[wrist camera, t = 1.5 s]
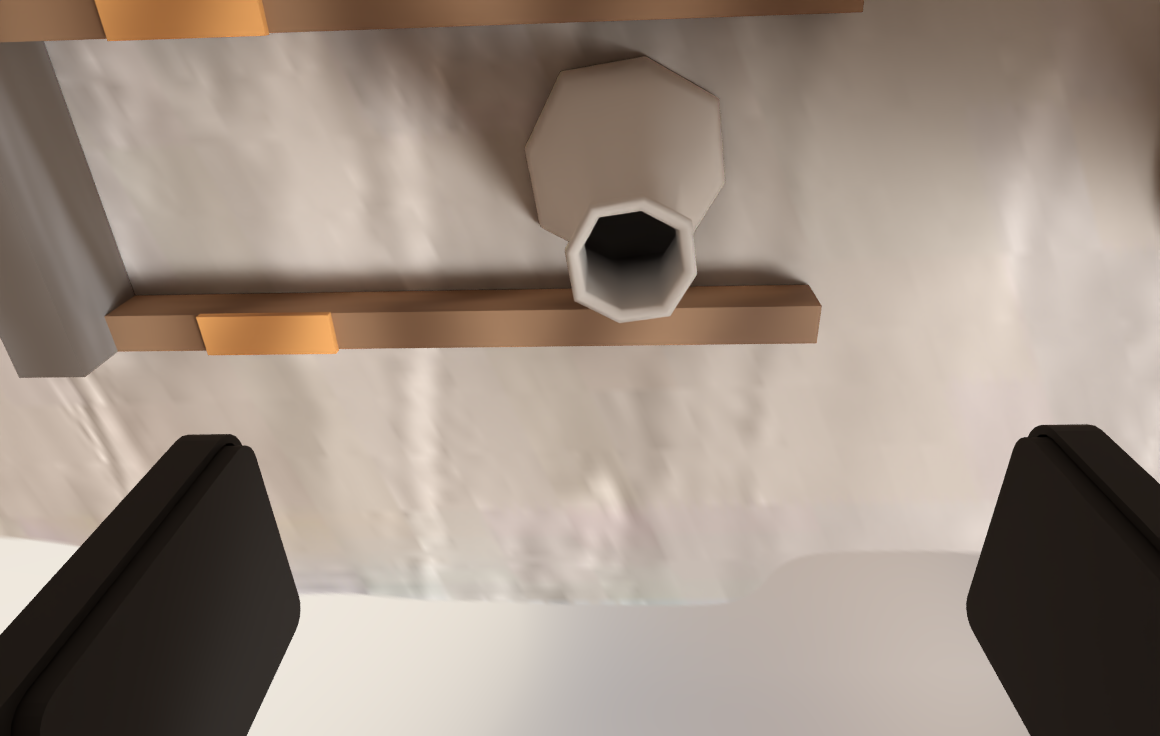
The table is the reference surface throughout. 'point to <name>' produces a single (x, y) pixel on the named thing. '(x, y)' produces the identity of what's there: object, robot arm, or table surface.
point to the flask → (627, 182)
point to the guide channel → (290, 320)
